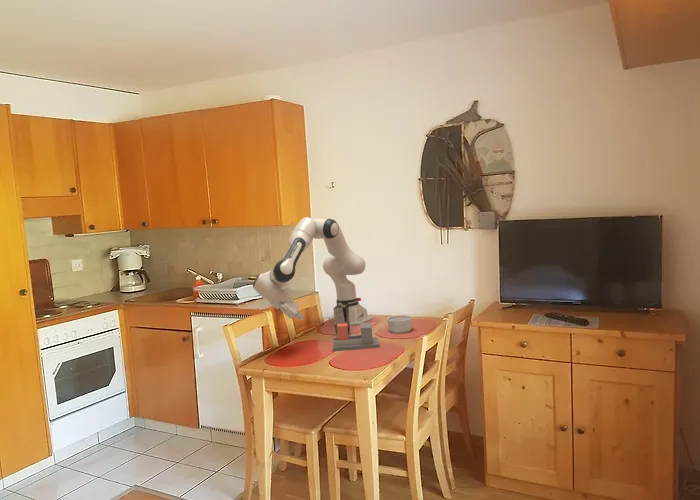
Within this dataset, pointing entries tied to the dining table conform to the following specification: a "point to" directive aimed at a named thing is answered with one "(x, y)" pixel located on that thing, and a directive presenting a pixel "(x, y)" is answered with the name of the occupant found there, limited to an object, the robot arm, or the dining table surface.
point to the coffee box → (341, 317)
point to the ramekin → (400, 323)
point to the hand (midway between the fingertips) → (302, 318)
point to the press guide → (357, 340)
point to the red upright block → (342, 331)
